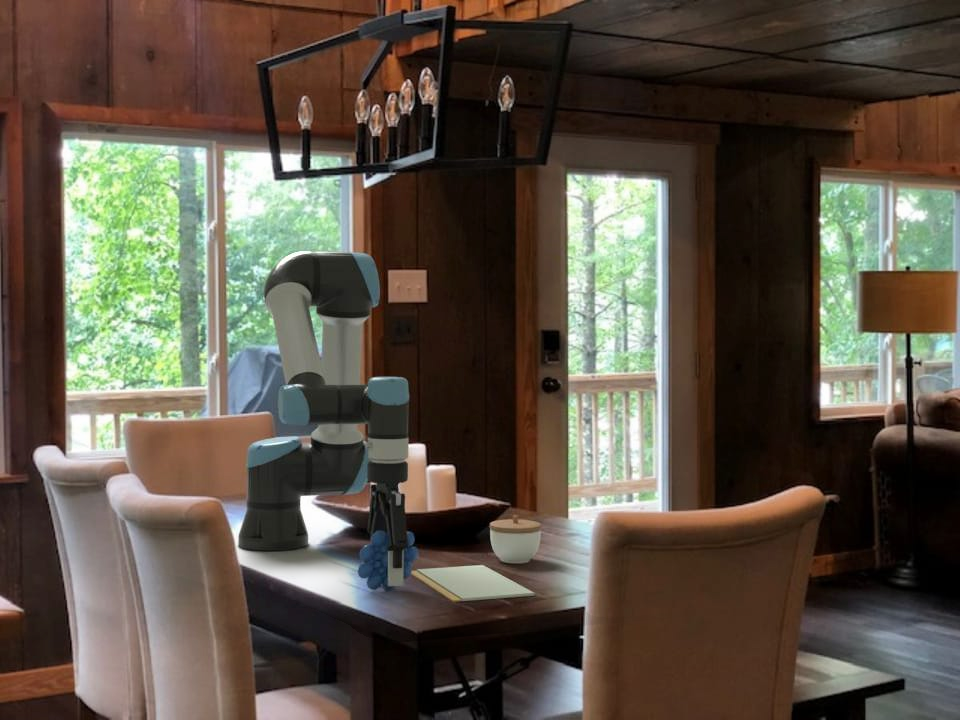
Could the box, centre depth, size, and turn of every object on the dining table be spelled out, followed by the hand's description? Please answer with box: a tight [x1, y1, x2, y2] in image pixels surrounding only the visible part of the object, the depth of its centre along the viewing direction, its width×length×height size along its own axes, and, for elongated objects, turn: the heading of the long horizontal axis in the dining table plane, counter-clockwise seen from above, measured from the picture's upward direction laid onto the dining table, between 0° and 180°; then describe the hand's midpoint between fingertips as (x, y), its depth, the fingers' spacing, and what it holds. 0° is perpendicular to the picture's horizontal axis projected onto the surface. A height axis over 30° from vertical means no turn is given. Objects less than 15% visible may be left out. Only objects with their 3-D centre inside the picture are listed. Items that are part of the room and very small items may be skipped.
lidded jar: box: [489, 514, 542, 564], centre depth 260 cm, size 11×11×9 cm
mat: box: [416, 564, 535, 602], centre depth 238 cm, size 26×14×1 cm, turn 21°
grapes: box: [357, 531, 419, 591], centre depth 232 cm, size 12×7×12 cm, turn 112°
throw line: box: [410, 570, 462, 603], centre depth 235 cm, size 26×2×1 cm, turn 21°
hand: (386, 579), depth 232 cm, fingers open, 10 cm apart
